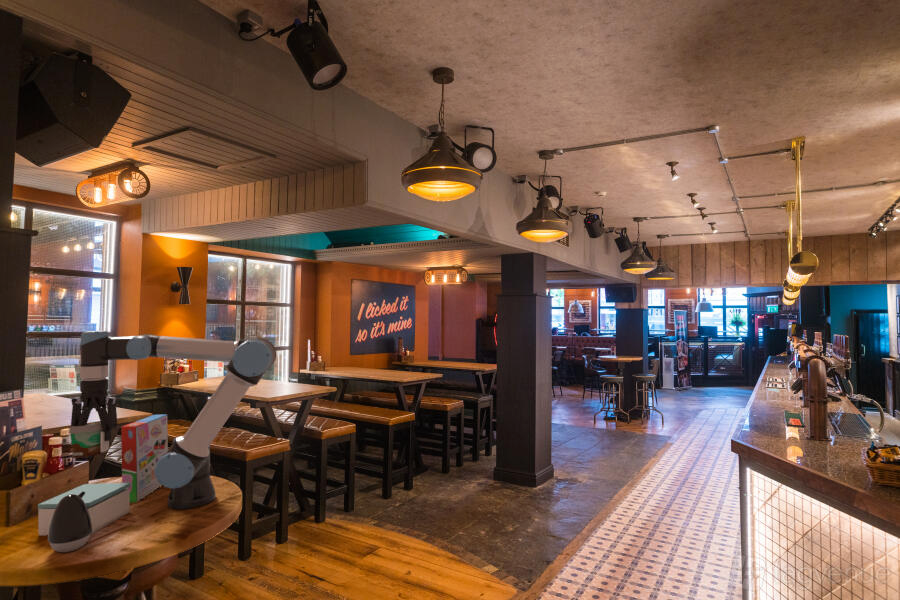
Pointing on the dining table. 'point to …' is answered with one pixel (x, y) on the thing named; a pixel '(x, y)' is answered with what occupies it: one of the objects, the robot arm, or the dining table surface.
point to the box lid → (88, 493)
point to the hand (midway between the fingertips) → (94, 450)
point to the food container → (86, 440)
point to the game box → (143, 454)
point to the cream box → (94, 512)
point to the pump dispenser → (70, 524)
